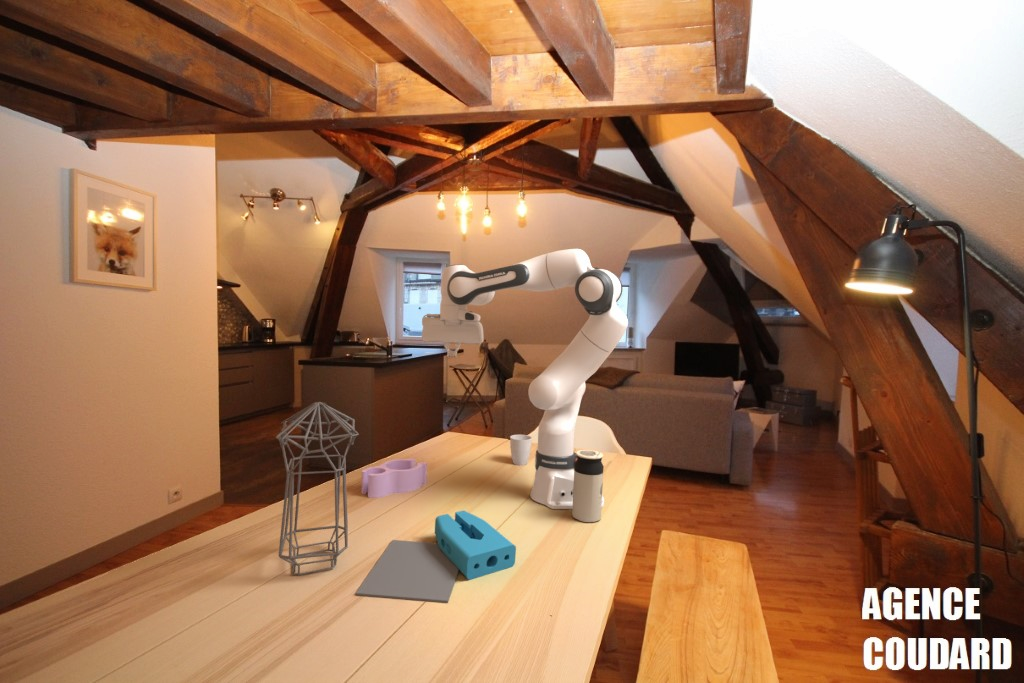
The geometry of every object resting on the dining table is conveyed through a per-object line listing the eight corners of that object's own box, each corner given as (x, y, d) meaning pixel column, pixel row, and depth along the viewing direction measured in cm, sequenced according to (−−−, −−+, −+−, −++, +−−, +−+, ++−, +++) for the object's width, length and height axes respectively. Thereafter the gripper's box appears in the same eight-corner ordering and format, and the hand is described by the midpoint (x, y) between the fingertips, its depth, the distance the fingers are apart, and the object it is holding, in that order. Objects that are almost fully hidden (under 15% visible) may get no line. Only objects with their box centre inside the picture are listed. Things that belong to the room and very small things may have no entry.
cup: (531, 460, 181) (532, 435, 181) (530, 467, 173) (531, 440, 172) (510, 459, 182) (511, 433, 181) (508, 465, 174) (509, 439, 173)
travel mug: (567, 518, 129) (570, 454, 129) (577, 509, 136) (580, 447, 136) (595, 525, 126) (599, 459, 125) (604, 515, 133) (607, 452, 132)
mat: (467, 547, 111) (467, 545, 111) (447, 602, 89) (447, 600, 89) (392, 541, 112) (392, 539, 112) (355, 595, 91) (355, 593, 90)
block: (427, 537, 114) (466, 580, 97) (428, 517, 113) (467, 557, 97) (471, 527, 120) (514, 565, 104) (472, 508, 120) (516, 544, 103)
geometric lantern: (279, 550, 106) (281, 396, 104) (352, 541, 112) (356, 395, 110) (270, 589, 91) (273, 411, 90) (355, 576, 97) (359, 408, 95)
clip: (376, 502, 136) (376, 478, 135) (354, 490, 144) (354, 468, 144) (431, 486, 150) (432, 464, 150) (408, 476, 159) (409, 456, 159)
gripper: (419, 313, 152) (418, 355, 153) (482, 315, 151) (481, 358, 151) (424, 313, 158) (423, 354, 159) (485, 316, 157) (483, 357, 157)
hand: (452, 356), depth 155 cm, fingers closed
